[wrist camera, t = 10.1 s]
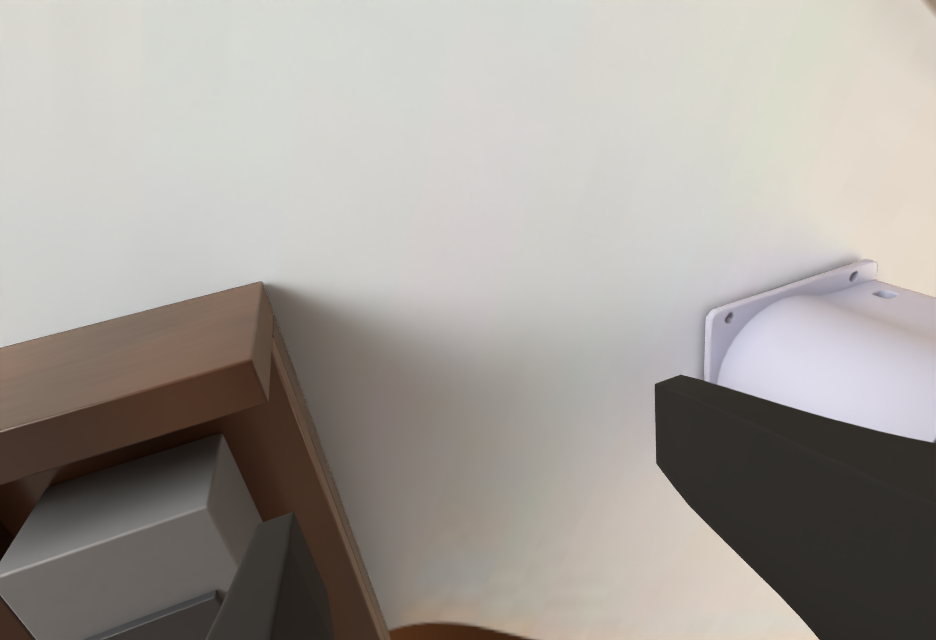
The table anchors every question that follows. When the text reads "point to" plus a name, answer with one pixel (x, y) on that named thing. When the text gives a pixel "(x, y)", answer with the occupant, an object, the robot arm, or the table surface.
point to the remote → (133, 548)
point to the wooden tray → (178, 425)
